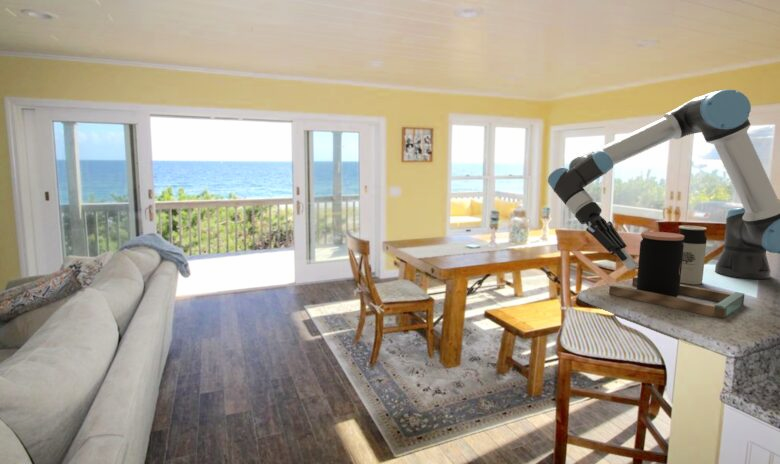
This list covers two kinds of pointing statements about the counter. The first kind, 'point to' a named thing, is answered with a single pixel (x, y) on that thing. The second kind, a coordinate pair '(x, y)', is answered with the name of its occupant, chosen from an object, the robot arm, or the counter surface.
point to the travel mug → (693, 254)
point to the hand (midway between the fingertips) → (634, 268)
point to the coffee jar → (660, 263)
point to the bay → (721, 310)
